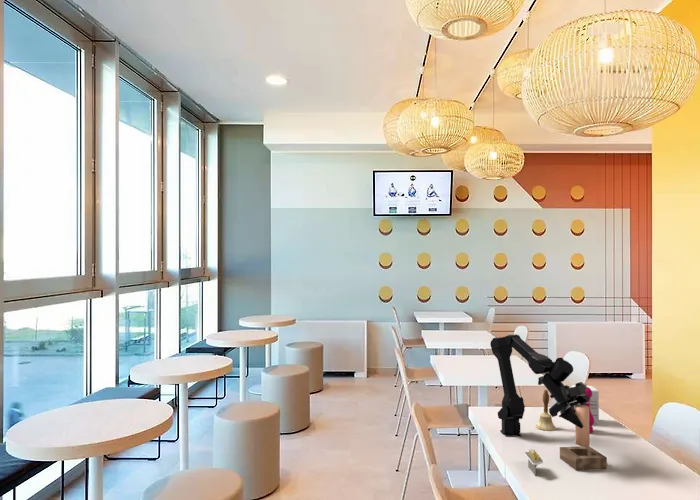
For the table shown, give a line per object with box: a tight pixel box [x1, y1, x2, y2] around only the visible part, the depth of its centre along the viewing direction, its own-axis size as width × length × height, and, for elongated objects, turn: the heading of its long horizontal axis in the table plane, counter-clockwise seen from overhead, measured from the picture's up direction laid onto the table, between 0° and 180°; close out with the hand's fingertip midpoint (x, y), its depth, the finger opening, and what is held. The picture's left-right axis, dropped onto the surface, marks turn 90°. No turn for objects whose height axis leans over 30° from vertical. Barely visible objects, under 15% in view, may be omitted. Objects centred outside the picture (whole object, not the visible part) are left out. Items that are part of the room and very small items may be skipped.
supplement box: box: [571, 384, 600, 426], centre depth 229 cm, size 9×9×15 cm
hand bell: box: [535, 389, 557, 432], centre depth 221 cm, size 8×8×16 cm
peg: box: [574, 405, 591, 447], centre depth 182 cm, size 4×4×13 cm
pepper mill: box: [578, 382, 594, 434], centre depth 217 cm, size 7×7×20 cm
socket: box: [559, 445, 608, 472], centre depth 182 cm, size 11×11×4 cm
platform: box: [524, 449, 544, 477], centre depth 176 cm, size 12×18×7 cm, turn 177°
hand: (586, 426), depth 181 cm, fingers closed on peg, 4 cm apart
